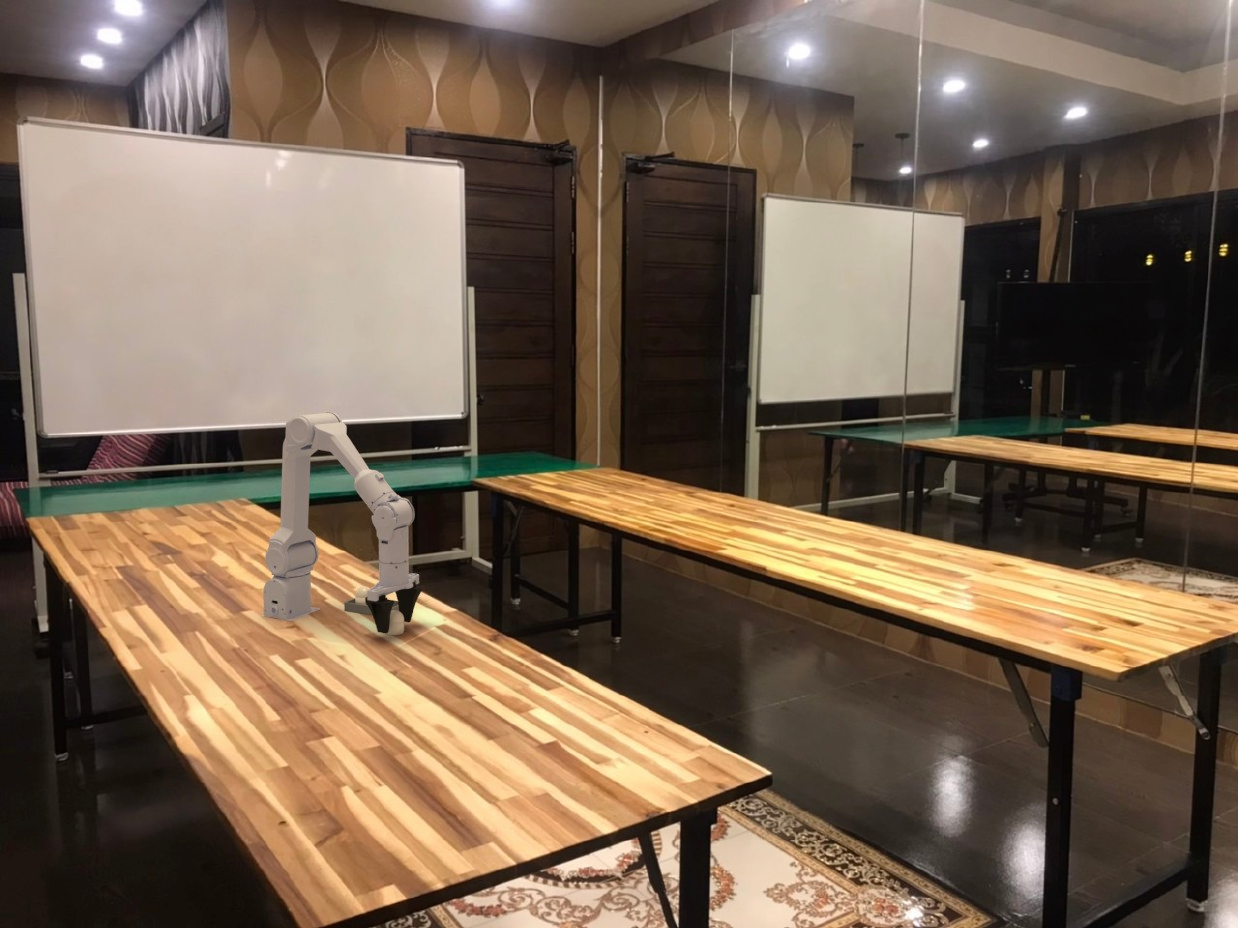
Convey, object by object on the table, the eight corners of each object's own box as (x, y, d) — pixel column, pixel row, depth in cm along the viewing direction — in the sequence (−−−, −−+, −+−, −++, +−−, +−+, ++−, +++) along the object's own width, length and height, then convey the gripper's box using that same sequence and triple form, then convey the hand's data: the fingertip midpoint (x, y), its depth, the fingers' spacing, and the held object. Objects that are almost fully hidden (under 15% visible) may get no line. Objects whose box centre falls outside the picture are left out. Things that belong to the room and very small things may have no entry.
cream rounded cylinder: (396, 638, 184) (396, 614, 183) (380, 635, 186) (380, 611, 185) (407, 632, 188) (407, 609, 187) (392, 629, 189) (391, 606, 188)
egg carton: (389, 619, 195) (389, 609, 195) (344, 612, 200) (344, 602, 199) (405, 612, 201) (405, 602, 200) (361, 605, 205) (361, 595, 205)
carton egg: (366, 612, 199) (366, 589, 198) (351, 609, 200) (351, 587, 199) (377, 607, 202) (376, 585, 201) (362, 605, 204) (362, 583, 203)
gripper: (388, 571, 176) (389, 640, 178) (431, 555, 190) (431, 619, 192) (357, 566, 179) (358, 635, 181) (402, 551, 192) (402, 614, 194)
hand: (394, 626), depth 186 cm, fingers open, 7 cm apart
